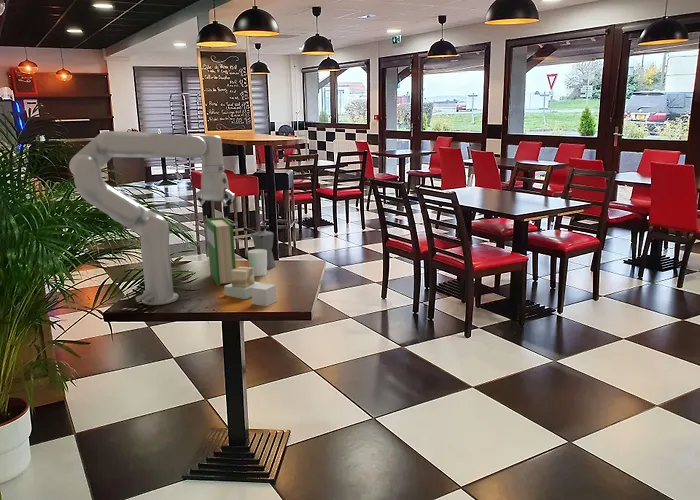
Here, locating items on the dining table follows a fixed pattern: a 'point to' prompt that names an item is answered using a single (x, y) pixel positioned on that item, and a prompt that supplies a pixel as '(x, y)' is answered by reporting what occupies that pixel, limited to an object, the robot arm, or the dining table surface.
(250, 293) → the base block
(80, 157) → the robot arm
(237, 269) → the maple cube
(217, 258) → the hardback book
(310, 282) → the dining table surface
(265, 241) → the coffeepot
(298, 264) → the dining table surface
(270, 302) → the grey cube
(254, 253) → the white cup
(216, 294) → the dining table surface
